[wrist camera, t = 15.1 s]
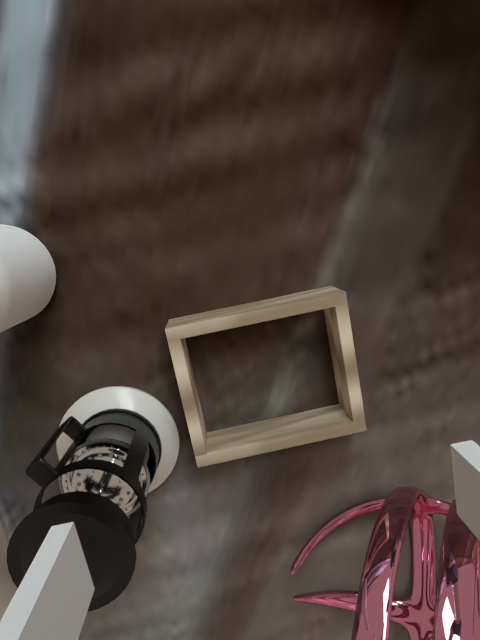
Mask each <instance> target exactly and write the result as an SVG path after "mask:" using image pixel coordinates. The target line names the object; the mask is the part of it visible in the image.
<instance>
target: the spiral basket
mask: <svg viewBox="0 0 480 640" xmlns="http://www.w3.org/2000/svg"><path fill="white" fill-rule="evenodd" d="M377 511H379V514H378V516H377V519H376V522H375V525H374V528H373V531H372V535H371V538H370V542H369V546H368V550H367V554H366V558H365V563H364V567H363V572H362V577H361V582H360V587H359V593H356V592H342V591H323V592H311V593H304V594H299V595H296V596H294V597H293V599H294V600H295V601H298V602H305V603H314V604H321V605H327V606H333V607H338V608H343V609H347V610H352V611H355V617H354V624H353V631H352V638H351V640H388V635H389V626H390V620H392V621H395V622H398V623H400V624H401V625H403V626H404V627H405V628H406V629H407V631H408V634H409V640H480V541H479V540H478V538H477V537H476V536H475V535H474V534H473V532H472V531H471V530H470V529H469V528H468V526H467V525H466V524H465V523H464V522H463V520H462V519H461V518H460V517H459V516H458V514H457V508H456V499H455V500H453V501H452V502H451V503H449V502H445V501H441V500H438V499H435V498H432V497H430V496H428V495H427V494H426V493H425V492H424V491H423V490H421V489H419V488H416V487H409V486H402V487H397V488H395V489H393V490H392V491H391V492H390V493H389V494H388V496H387V497H384V498H378V499H373V500H370V501H366V502H363V503H360V504H358V505H355V506H353V507H351V508H348V509H346V510H345V511H343V512H341V513H339V514H338V515H336V516H335V517H333V518H332V519H330V520H329V521H328V522H326V523H325V524H324V525H323V526H322V527H321V528H320V529H318V530H317V531H316V532H315V533H314V535H313V536H312V537H311V538H310V539H309V540H308V541H307V543H306V544H305V545H304V546H303V548H302V549H301V551H300V552H299V554H298V555H297V557H296V559H295V560H294V562H293V564H292V566H291V569H290V574H291V575H293V574H295V573H296V572H297V571H298V569H299V568H300V567H301V565H302V564H303V562H304V561H305V559H306V558H307V556H308V555H309V554H310V552H311V551H312V550H313V549H314V548H315V547H316V546H317V544H318V543H319V542H320V541H321V540H323V539H324V538H325V537H326V536H327V535H328V534H330V533H331V532H332V531H334V530H335V529H336V528H338V527H340V526H341V525H343V524H345V523H346V522H348V521H350V520H353V519H355V518H357V517H360V516H363V515H366V514H369V513H373V512H377ZM433 514H443V515H446V516H447V517H446V522H445V527H444V533H443V539H442V546H441V553H440V561H439V570H438V579H437V588H436V593H435V542H434V528H433ZM408 519H409V521H410V530H411V543H412V591H411V594H410V596H409V597H408V598H405V599H397V598H393V595H394V588H395V582H396V575H397V569H398V564H399V558H400V553H401V548H402V543H403V538H404V534H405V530H406V526H407V522H408Z"/></svg>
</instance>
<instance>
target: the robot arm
mask: <svg viewBox="0 0 480 640" xmlns="http://www.w3.org/2000/svg"><path fill="white" fill-rule="evenodd" d="M450 447H451V457H452V467H453V478H454V488H455V498H456V508H457V514H458V516H459V517H460V518H461V519H462V520H463V522H464V523H465V524H466V525H467V526H468V528H469V529H470V530H471V531H472V532H473V534H474V535H475V536H476V537H477V538H478V540H479V541H480V446H478V445H477V444H476V443H475V442H474V441H473V440H470V441H465V442H460V443H455V444H450ZM94 590H95V588H94V585H93V582H92V579H91V576H90V572H89V569H88V566H87V563H86V560H85V556H84V553H83V550H82V547H81V544H80V540H79V537H78V534H77V531H76V528H75V524H74V522H70V523H65V524H60V525H55V526H51V528H50V530H49V532H48V534H47V535H46V537H45V539H44V541H43V543H42V545H41V547H40V548H39V550H38V552H37V554H36V556H35V558H34V560H33V561H32V563H31V565H30V567H29V569H28V571H27V573H26V574H25V576H24V578H23V580H22V582H21V584H20V586H19V587H18V590H17V591H16V593H15V595H14V597H13V599H12V600H11V602H10V604H9V606H8V608H7V610H6V611H5V613H4V615H3V617H2V619H1V621H0V640H78V638H79V635H80V632H81V629H82V626H83V623H84V620H85V617H86V614H87V611H88V608H89V605H90V602H91V599H92V596H93V593H94Z"/></svg>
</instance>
